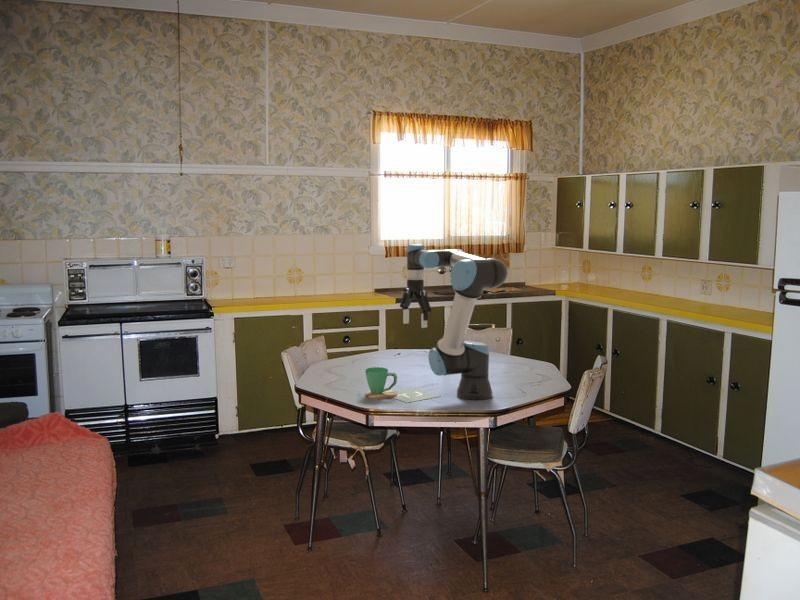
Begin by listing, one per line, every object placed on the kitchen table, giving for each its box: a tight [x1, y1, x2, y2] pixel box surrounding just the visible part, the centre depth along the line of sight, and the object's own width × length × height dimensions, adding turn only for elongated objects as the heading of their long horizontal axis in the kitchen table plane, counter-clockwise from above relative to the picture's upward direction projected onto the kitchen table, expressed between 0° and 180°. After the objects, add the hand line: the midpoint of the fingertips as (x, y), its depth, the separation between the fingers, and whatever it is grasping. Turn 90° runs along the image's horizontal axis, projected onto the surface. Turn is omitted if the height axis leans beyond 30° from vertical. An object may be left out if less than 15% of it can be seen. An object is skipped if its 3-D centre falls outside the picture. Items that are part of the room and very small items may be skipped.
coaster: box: [364, 389, 398, 400], centre depth 316 cm, size 14×14×1 cm
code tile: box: [392, 387, 441, 404], centre depth 315 cm, size 18×18×1 cm
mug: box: [365, 366, 398, 394], centre depth 315 cm, size 15×10×10 cm
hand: (415, 325), depth 333 cm, fingers open, 13 cm apart
